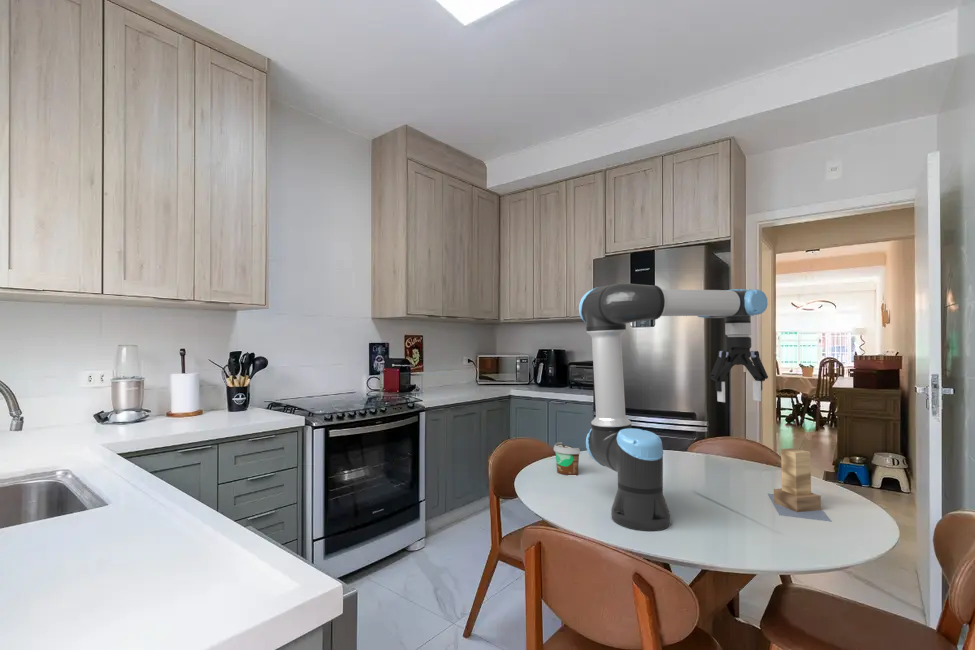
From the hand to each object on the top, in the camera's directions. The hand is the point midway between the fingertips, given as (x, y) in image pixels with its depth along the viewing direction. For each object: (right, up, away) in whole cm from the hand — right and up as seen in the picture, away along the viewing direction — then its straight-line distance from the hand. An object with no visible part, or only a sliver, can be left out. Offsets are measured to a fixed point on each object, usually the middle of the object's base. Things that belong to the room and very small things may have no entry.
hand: (739, 401), depth 154 cm
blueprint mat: (+7, -28, -18) cm, 34 cm away
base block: (+7, -27, -18) cm, 34 cm away
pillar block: (+7, -23, -18) cm, 30 cm away
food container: (-55, -30, +19) cm, 65 cm away
